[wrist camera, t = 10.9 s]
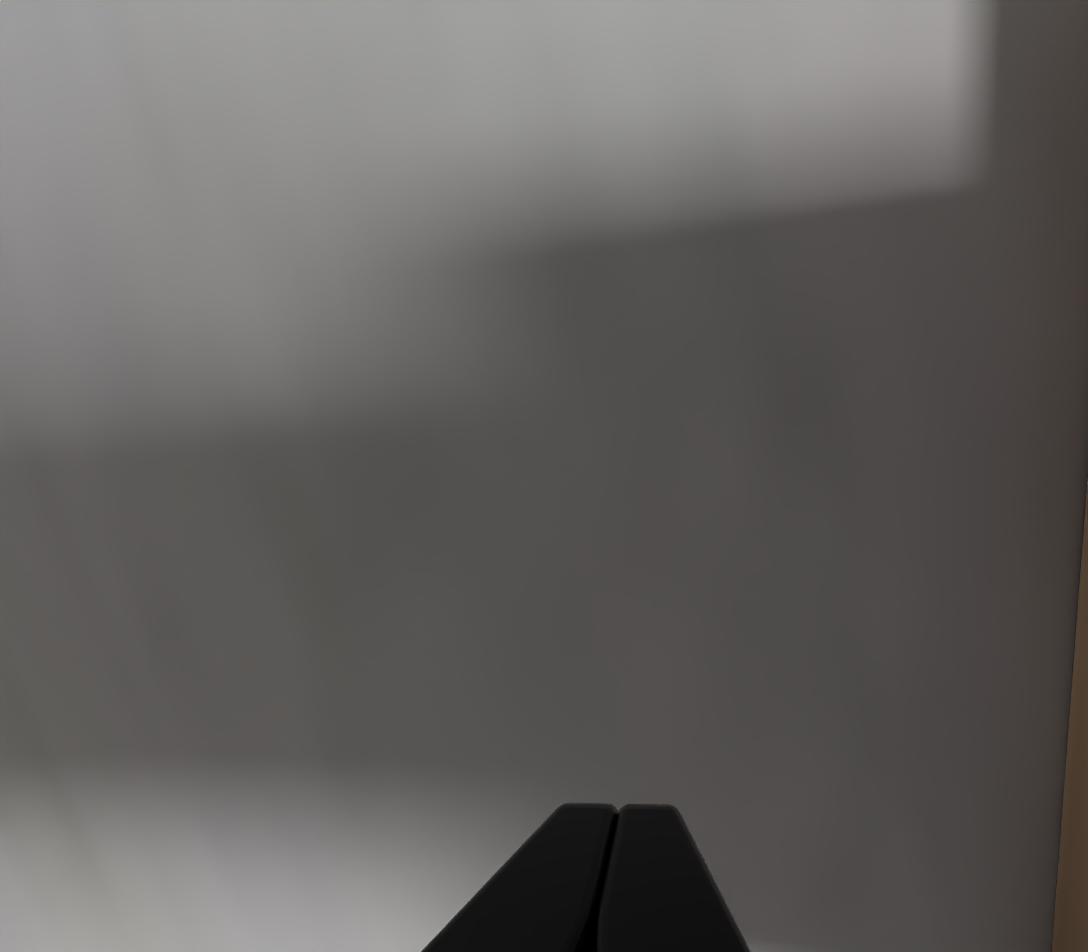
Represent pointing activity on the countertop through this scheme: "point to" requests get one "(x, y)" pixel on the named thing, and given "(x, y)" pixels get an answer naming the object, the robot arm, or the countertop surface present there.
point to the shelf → (1075, 792)
